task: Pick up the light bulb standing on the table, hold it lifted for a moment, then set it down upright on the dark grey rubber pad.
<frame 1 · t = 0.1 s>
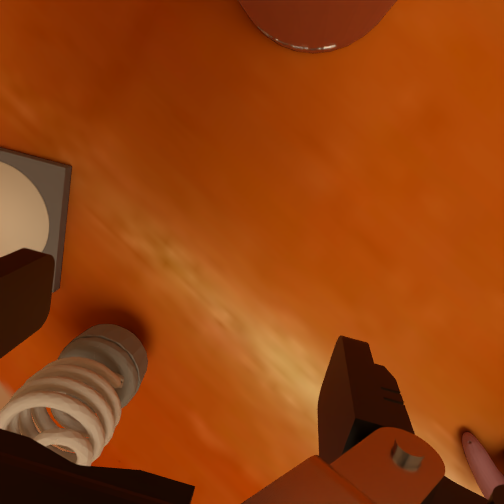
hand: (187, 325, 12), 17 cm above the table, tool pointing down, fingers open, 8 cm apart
light bulb: (128, 336, 33), on the table
pad: (4, 213, 31), on the table
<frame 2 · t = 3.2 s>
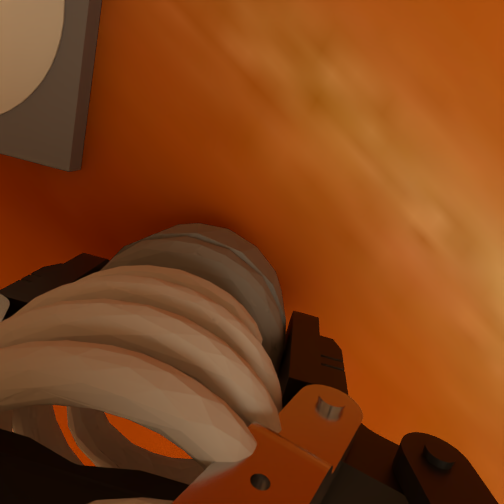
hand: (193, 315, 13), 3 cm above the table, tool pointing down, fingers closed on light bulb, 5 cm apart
light bulb: (218, 274, 16), on the table, touching gripper
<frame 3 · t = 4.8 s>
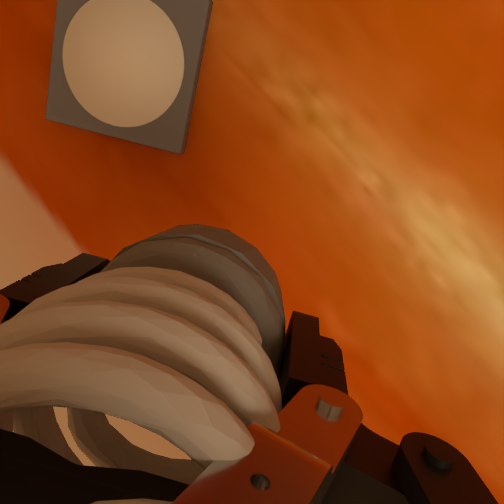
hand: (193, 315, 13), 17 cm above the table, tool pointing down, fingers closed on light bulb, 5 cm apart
light bulb: (218, 275, 16), point 14 cm above the table, touching gripper
pad: (128, 63, 28), on the table
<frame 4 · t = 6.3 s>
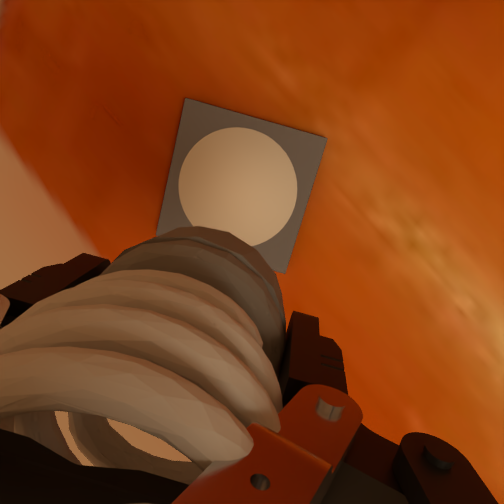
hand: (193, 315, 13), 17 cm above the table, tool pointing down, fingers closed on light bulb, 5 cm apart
light bulb: (218, 276, 16), point 14 cm above the table, touching gripper
pad: (239, 187, 29), on the table
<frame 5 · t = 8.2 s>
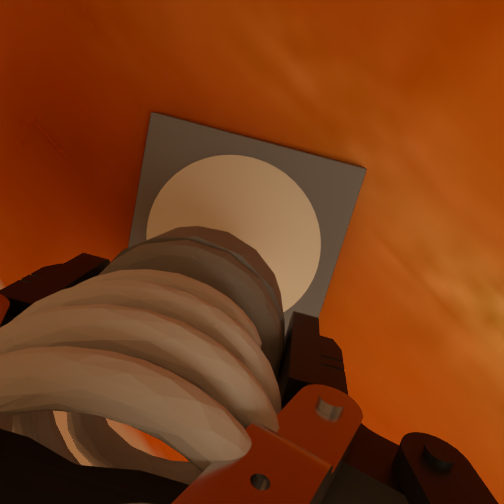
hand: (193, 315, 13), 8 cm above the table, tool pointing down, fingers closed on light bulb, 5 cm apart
light bulb: (217, 276, 16), point 4 cm above the table, touching gripper
pad: (235, 239, 20), on the table
when the fingers open (5 cm above the table, at t = 9.6 s): light bulb drops 1 cm, resting on pad.
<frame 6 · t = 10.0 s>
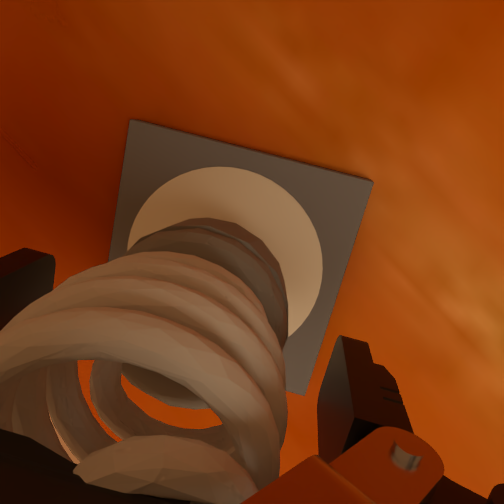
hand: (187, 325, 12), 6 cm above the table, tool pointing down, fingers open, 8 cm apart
light bulb: (224, 267, 17), point 1 cm above the table, touching pad
pad: (226, 260, 18), on the table
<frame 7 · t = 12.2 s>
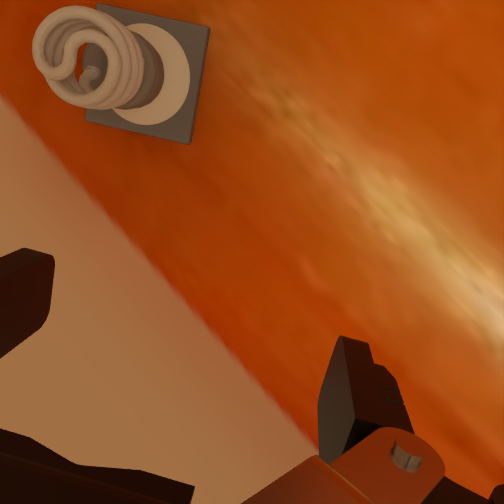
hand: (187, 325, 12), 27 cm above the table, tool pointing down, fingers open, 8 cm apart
light bulb: (144, 76, 36), point 1 cm above the table, touching pad
pad: (147, 76, 37), on the table
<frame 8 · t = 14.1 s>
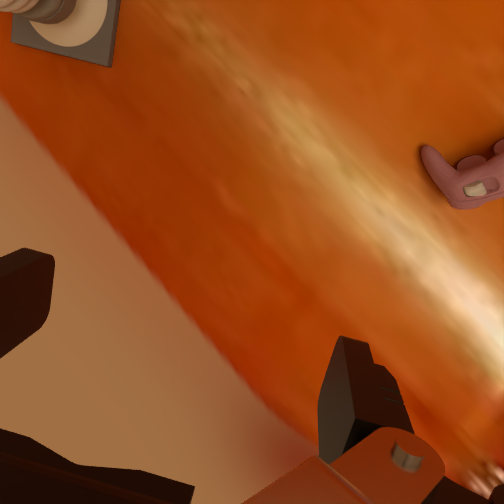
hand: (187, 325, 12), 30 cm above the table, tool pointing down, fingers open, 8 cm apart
pad: (69, 0, 39), on the table
video game controller: (481, 151, 38), on the table
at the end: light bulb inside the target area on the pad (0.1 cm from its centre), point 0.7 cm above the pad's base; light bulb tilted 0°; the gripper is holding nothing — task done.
